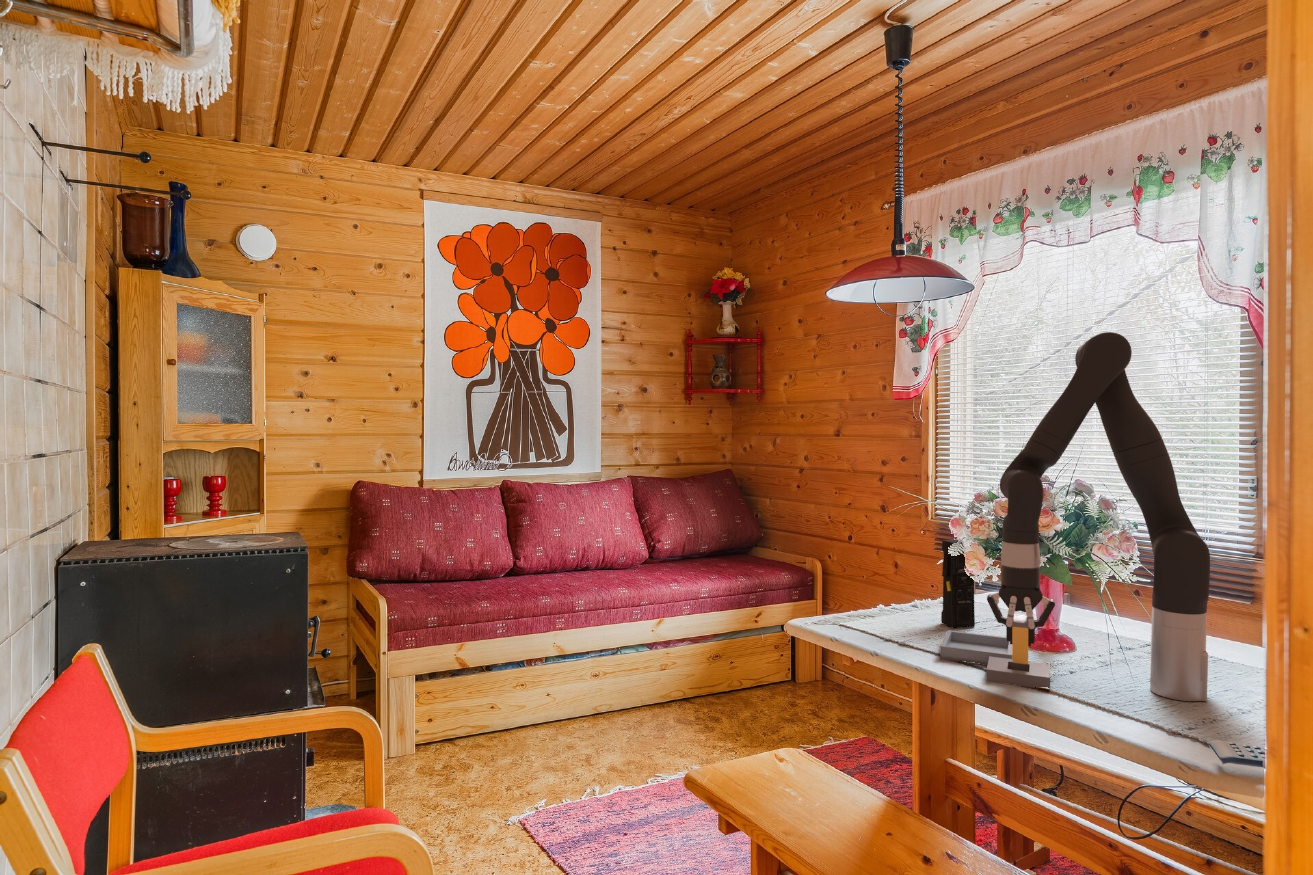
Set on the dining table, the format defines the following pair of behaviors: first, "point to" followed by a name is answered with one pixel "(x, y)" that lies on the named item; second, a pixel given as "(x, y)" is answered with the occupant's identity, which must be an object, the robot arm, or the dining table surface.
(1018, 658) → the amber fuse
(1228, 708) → the dining table surface
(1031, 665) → the socket plate
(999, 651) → the grey tray
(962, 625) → the portable radio
